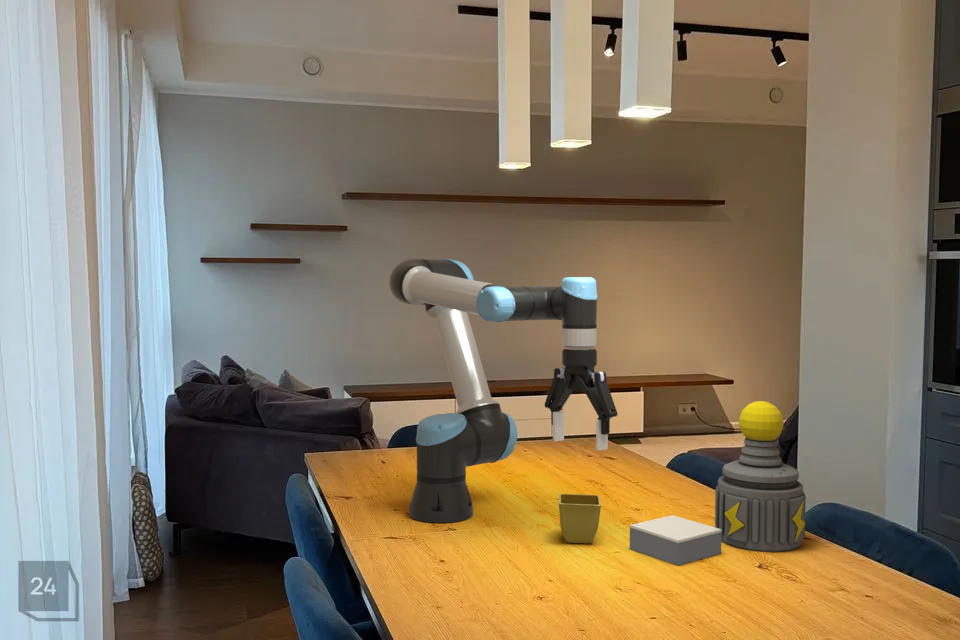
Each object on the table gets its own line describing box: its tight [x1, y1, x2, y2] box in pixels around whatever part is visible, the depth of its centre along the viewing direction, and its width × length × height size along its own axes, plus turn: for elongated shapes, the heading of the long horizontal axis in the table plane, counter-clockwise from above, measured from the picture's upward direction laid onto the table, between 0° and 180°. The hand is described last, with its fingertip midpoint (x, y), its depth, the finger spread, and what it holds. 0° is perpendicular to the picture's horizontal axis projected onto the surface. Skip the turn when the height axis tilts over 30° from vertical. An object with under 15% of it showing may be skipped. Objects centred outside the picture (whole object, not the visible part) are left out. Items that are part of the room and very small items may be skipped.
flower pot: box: [558, 493, 602, 545], centre depth 185 cm, size 9×9×9 cm
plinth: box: [629, 515, 722, 566], centre depth 177 cm, size 13×13×5 cm
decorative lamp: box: [714, 400, 807, 553], centre depth 185 cm, size 19×19×30 cm
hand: (579, 445), depth 188 cm, fingers open, 13 cm apart
